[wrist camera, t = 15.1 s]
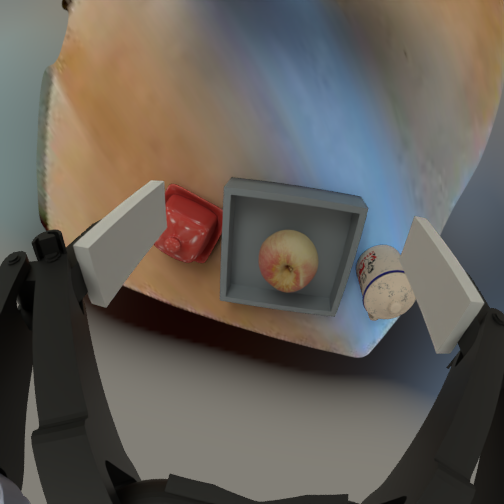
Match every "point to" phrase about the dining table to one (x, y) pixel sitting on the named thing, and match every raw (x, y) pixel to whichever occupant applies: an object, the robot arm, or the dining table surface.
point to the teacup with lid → (383, 283)
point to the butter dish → (189, 226)
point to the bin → (288, 218)
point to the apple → (288, 260)
